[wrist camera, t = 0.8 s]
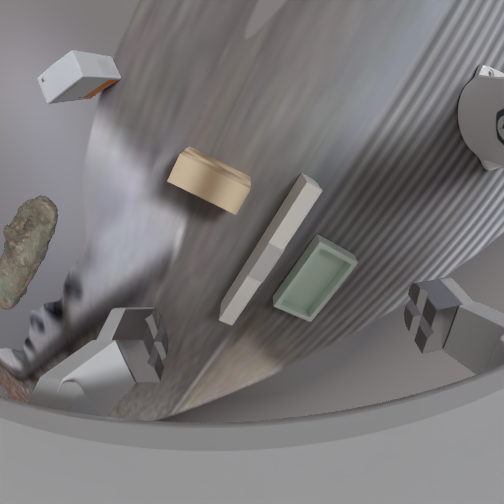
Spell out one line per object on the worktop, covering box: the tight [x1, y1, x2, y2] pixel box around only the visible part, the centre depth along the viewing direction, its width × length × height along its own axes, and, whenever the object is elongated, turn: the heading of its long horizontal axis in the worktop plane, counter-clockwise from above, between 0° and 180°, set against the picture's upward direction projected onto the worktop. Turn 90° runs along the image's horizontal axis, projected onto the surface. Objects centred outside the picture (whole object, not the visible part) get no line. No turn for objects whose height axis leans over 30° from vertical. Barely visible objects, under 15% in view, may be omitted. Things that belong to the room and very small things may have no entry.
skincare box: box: [37, 50, 121, 104], centre depth 32 cm, size 6×4×12 cm
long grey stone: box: [0, 196, 58, 309], centre depth 49 cm, size 35×5×10 cm
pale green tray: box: [273, 234, 358, 322], centre depth 51 cm, size 14×8×3 cm, turn 151°
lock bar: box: [167, 147, 251, 215], centre depth 42 cm, size 10×4×6 cm, turn 61°
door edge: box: [219, 173, 322, 325], centre depth 48 cm, size 26×2×5 cm, turn 151°
